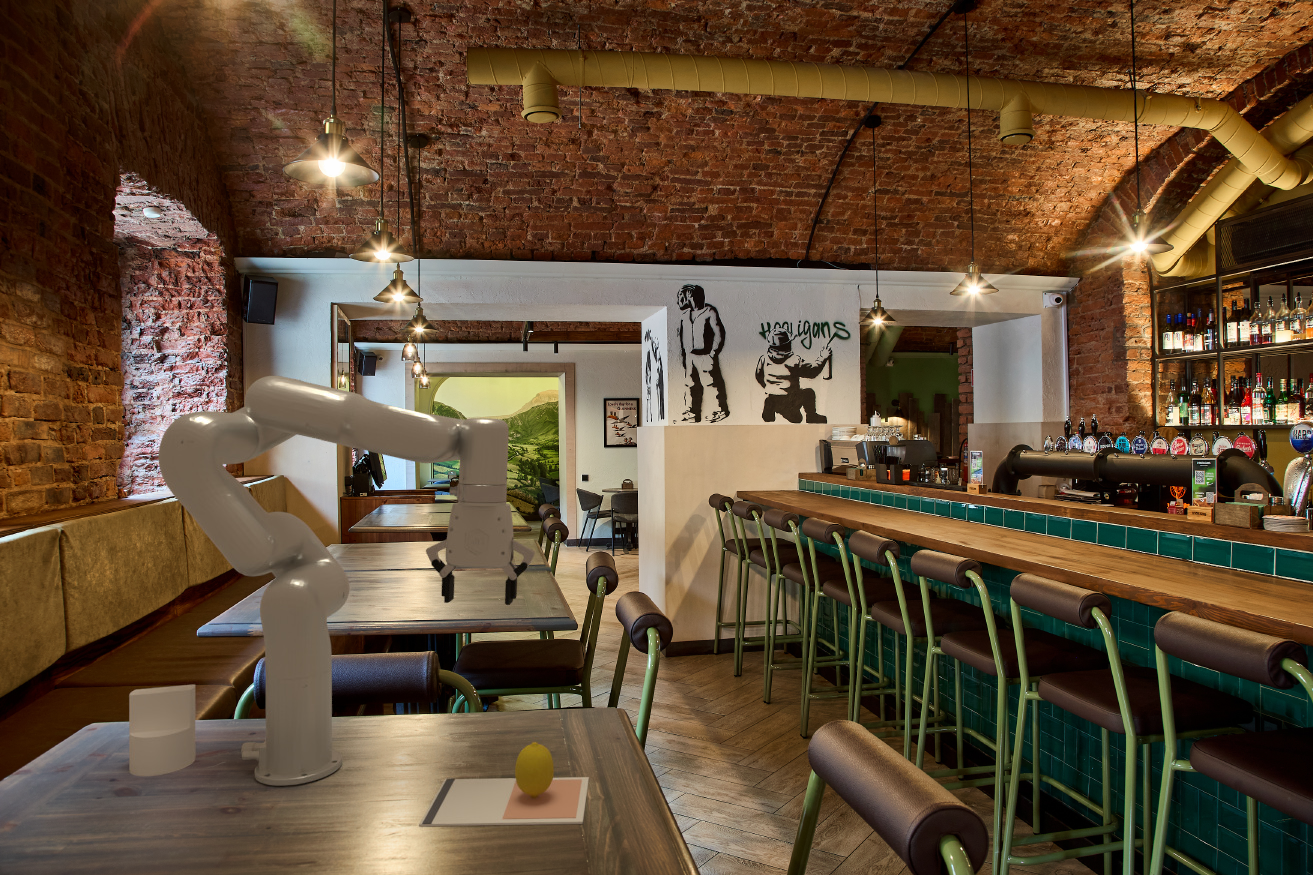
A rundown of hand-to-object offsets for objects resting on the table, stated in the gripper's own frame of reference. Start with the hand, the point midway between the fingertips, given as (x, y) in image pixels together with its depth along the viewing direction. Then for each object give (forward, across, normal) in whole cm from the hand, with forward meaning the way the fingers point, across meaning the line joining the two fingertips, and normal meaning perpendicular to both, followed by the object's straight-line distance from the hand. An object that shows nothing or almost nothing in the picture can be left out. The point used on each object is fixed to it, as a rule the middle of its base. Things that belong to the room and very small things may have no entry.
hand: (479, 602), depth 125 cm
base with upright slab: (+28, -50, +1) cm, 58 cm away
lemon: (+26, +12, -12) cm, 31 cm away
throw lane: (+26, +8, -12) cm, 30 cm away
